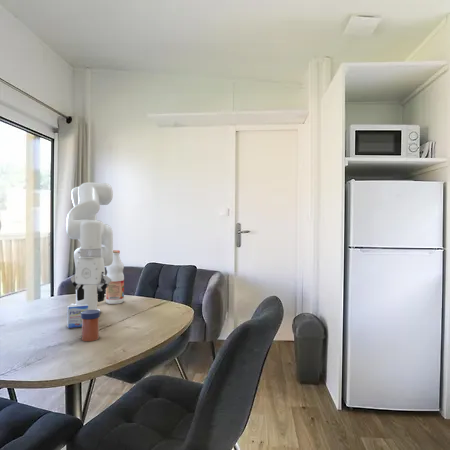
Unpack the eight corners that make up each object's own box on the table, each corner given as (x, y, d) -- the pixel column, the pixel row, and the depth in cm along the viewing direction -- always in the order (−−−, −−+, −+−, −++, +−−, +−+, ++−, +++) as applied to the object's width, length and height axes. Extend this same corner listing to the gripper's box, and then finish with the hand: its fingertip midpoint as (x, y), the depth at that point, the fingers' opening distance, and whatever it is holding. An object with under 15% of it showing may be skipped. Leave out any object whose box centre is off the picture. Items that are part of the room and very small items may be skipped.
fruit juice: (102, 302, 200) (102, 250, 199) (118, 299, 206) (118, 249, 206) (110, 305, 193) (111, 251, 193) (127, 302, 200) (127, 250, 199)
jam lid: (76, 318, 136) (76, 313, 136) (87, 314, 142) (87, 309, 142) (93, 319, 134) (93, 314, 134) (103, 315, 141) (103, 310, 141)
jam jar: (78, 340, 136) (78, 314, 136) (88, 335, 142) (88, 310, 142) (92, 341, 135) (92, 315, 135) (102, 337, 141) (102, 311, 141)
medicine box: (67, 328, 151) (67, 307, 151) (66, 325, 155) (67, 305, 155) (88, 326, 155) (88, 305, 155) (86, 323, 159) (87, 303, 159)
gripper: (64, 253, 137) (63, 301, 137) (106, 255, 132) (105, 304, 132) (77, 252, 144) (76, 297, 144) (117, 253, 140) (116, 300, 140)
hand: (90, 300), depth 138 cm, fingers open, 8 cm apart
